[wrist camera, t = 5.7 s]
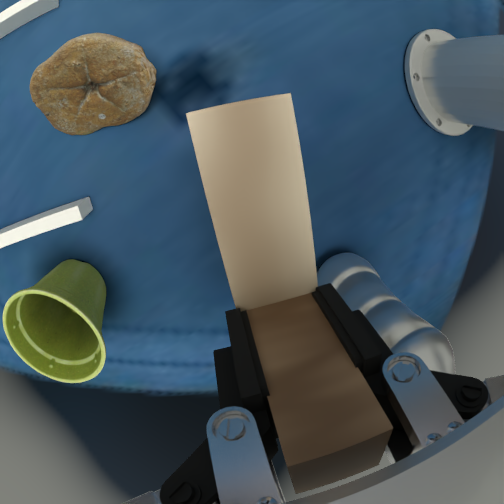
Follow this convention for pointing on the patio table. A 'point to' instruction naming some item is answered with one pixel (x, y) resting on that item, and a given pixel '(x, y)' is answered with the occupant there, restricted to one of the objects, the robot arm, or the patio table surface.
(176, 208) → the patio table surface
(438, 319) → the patio table surface
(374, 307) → the plastic bottle
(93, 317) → the plant pot
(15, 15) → the bay
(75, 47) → the fossil
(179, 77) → the patio table surface
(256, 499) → the robot arm
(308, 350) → the scraper
